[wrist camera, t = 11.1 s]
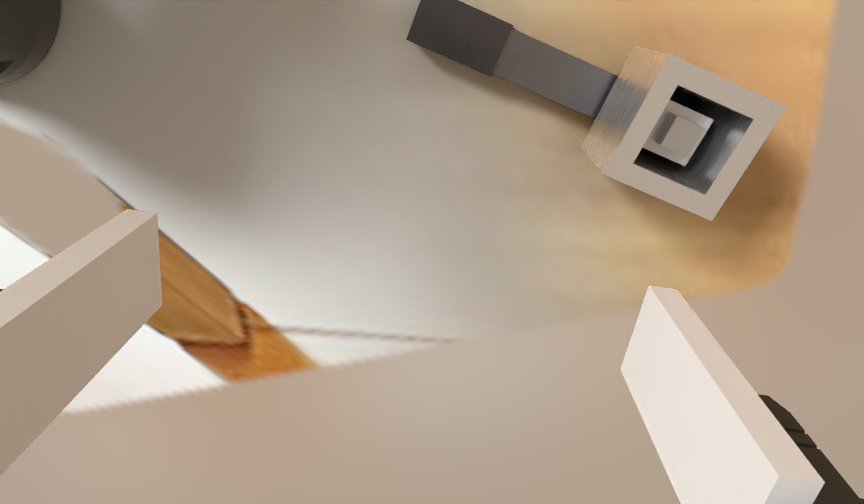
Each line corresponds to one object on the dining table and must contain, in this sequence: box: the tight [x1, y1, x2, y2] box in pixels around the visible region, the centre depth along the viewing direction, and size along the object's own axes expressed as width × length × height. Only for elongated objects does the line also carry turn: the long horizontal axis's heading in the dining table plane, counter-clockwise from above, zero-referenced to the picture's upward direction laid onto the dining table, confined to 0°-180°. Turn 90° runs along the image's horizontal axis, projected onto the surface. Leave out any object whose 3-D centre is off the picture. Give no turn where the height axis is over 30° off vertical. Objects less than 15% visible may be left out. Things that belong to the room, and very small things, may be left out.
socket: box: [581, 46, 787, 221], centre depth 34 cm, size 7×7×7 cm
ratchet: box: [406, 0, 713, 166], centre depth 36 cm, size 20×6×8 cm, turn 68°
